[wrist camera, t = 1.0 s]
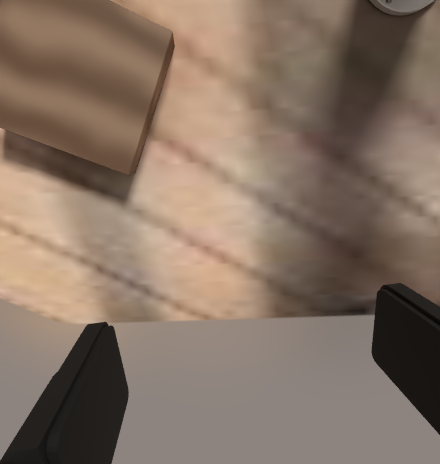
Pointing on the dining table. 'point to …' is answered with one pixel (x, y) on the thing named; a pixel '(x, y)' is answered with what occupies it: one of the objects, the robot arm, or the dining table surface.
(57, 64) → the walnut block
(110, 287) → the dining table surface
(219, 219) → the dining table surface
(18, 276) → the dining table surface
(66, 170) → the dining table surface
